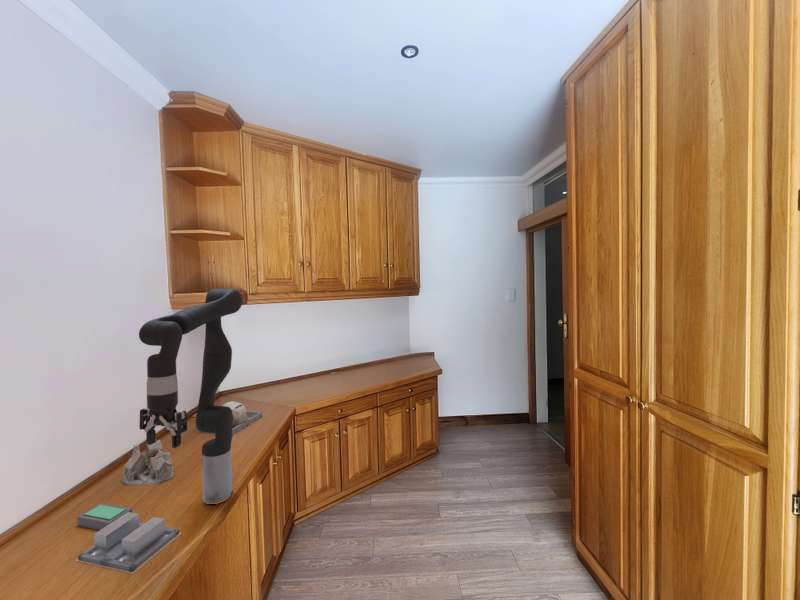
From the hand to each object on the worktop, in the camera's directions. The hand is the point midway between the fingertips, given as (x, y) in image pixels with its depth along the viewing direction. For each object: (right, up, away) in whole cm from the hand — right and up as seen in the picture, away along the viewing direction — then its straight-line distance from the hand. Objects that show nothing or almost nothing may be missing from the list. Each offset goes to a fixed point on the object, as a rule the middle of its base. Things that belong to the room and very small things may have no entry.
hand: (163, 445), depth 108 cm
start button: (-25, -27, +10) cm, 38 cm away
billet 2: (-4, -29, -2) cm, 29 cm away
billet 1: (-14, -29, 0) cm, 32 cm away
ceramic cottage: (-31, -28, +39) cm, 57 cm away
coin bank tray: (-23, -25, +93) cm, 99 cm away
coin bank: (-23, -25, +92) cm, 98 cm away
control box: (-25, -29, +10) cm, 40 cm away
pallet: (-9, -30, -1) cm, 31 cm away
